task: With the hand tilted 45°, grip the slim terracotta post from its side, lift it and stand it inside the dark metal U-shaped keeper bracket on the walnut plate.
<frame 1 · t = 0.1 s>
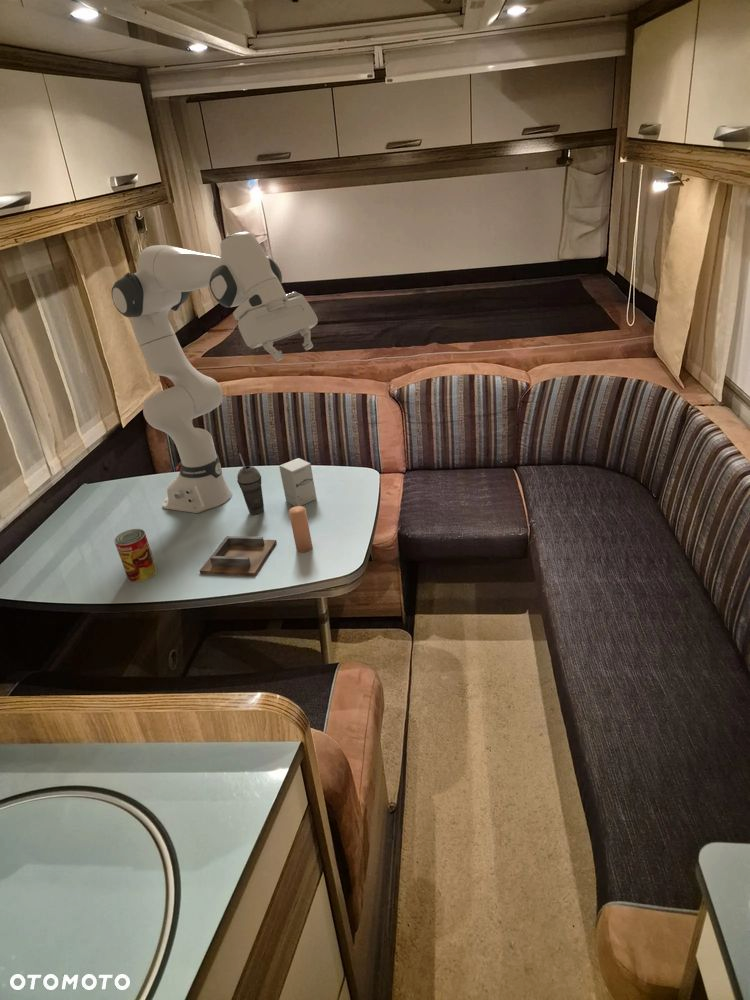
hand: (295, 354, 149), 54 cm above the table, tool tilted 30°, fingers open, 8 cm apart
terracotta post: (304, 547, 177), on the table
supplement box: (301, 500, 202), on the table
canned food: (142, 574, 175), on the table
beverage cup: (257, 512, 198), on the table
keeper bracket: (239, 557, 176), on the table
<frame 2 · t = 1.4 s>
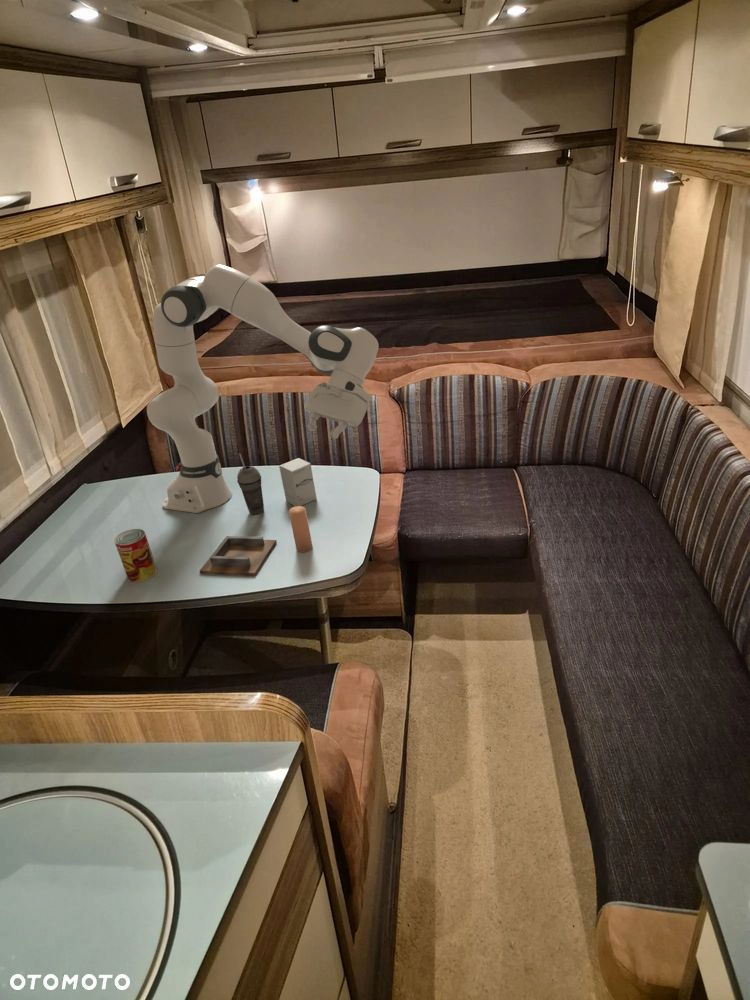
hand: (321, 433, 170), 30 cm above the table, tool tilted 45°, fingers open, 8 cm apart
nothing on the table moved.
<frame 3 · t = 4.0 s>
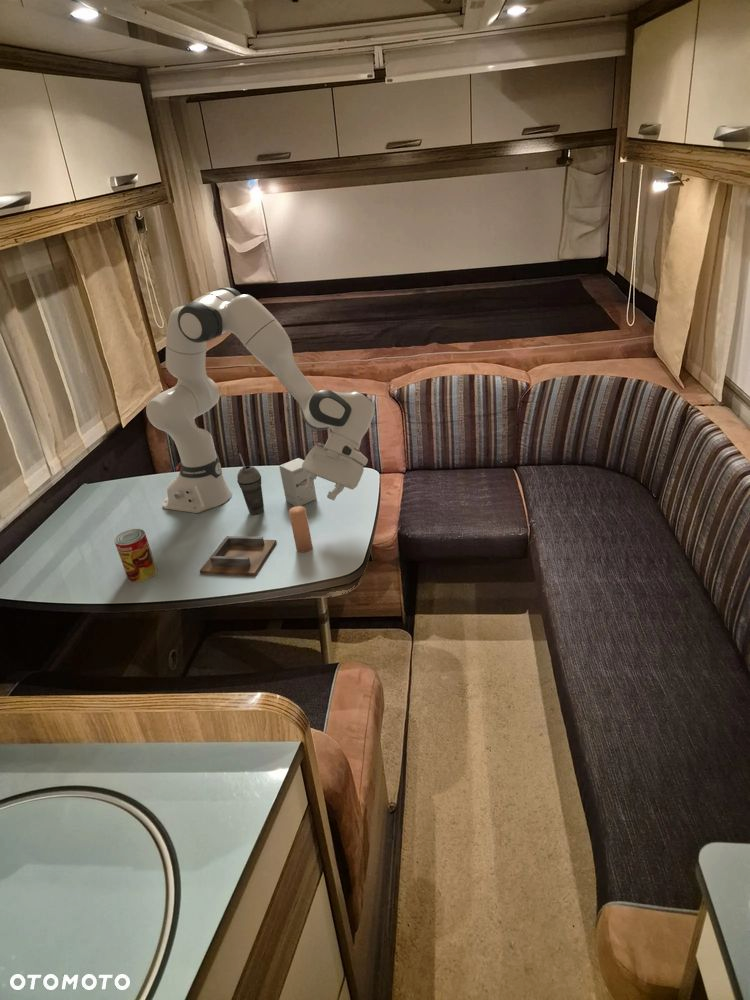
hand: (319, 494, 175), 13 cm above the table, tool tilted 45°, fingers open, 8 cm apart
nothing on the table moved.
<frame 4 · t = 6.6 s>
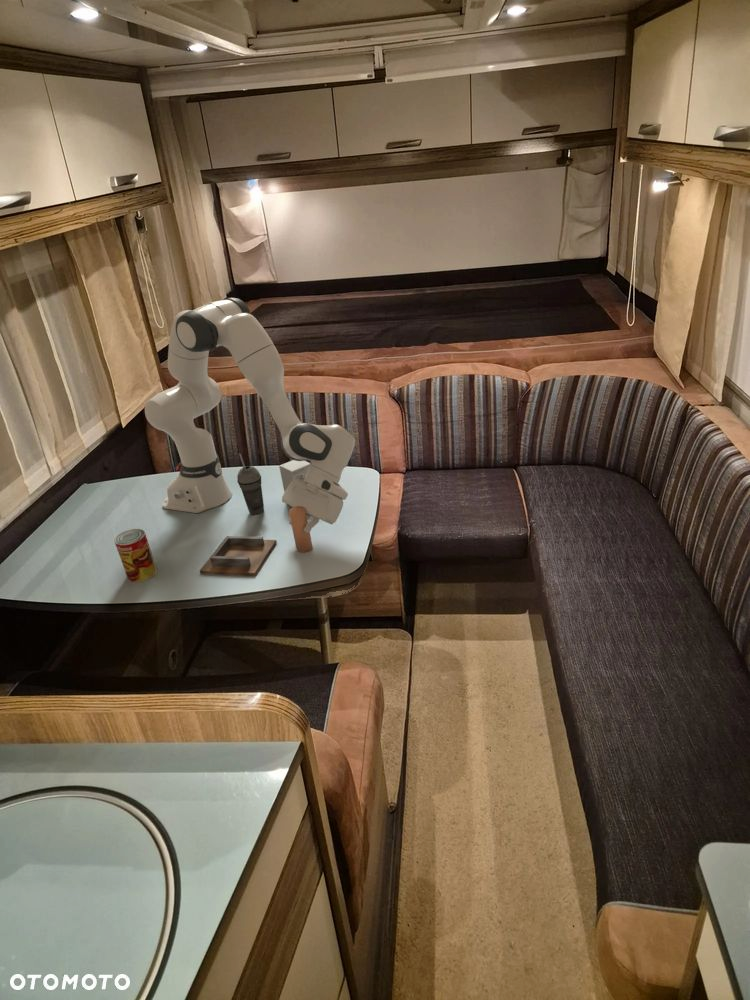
hand: (298, 528, 173), 7 cm above the table, tool tilted 45°, fingers closed on terracotta post, 4 cm apart
terracotta post: (304, 547, 177), on the table, touching gripper
everything else where it was.
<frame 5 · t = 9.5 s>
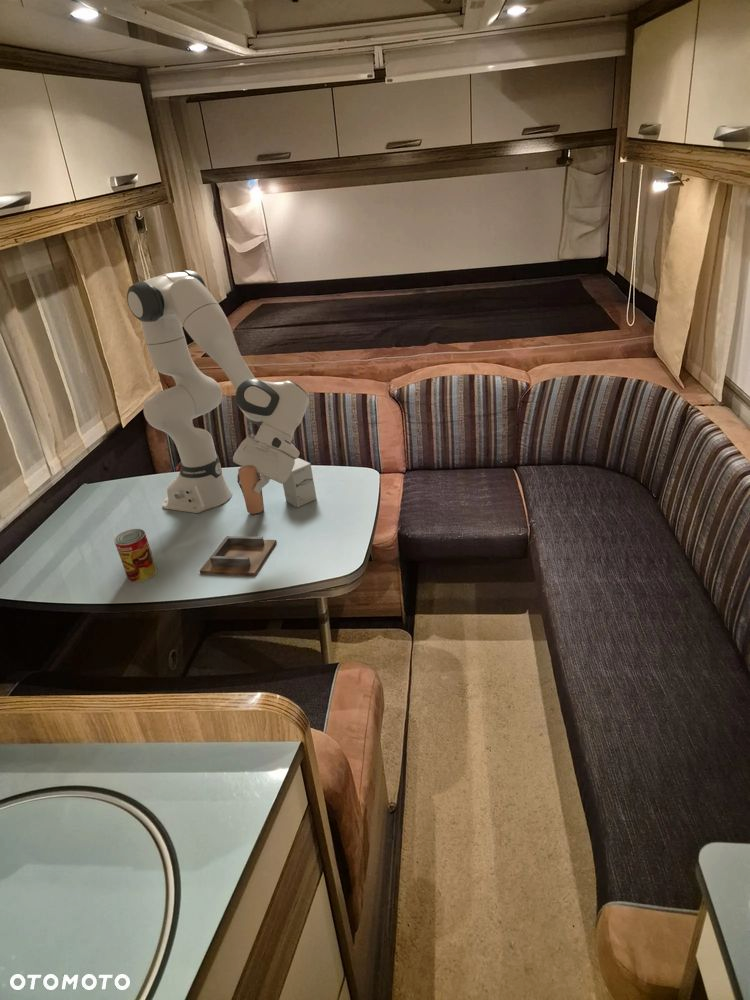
hand: (248, 488, 166), 20 cm above the table, tool tilted 45°, fingers closed on terracotta post, 4 cm apart
terracotta post: (255, 509, 170), point 14 cm above the table, touching gripper
everything else where it was.
when the fingers open (9 cm above the table, at t = 12.8 s): terracotta post drops 1 cm, resting on keeper bracket.
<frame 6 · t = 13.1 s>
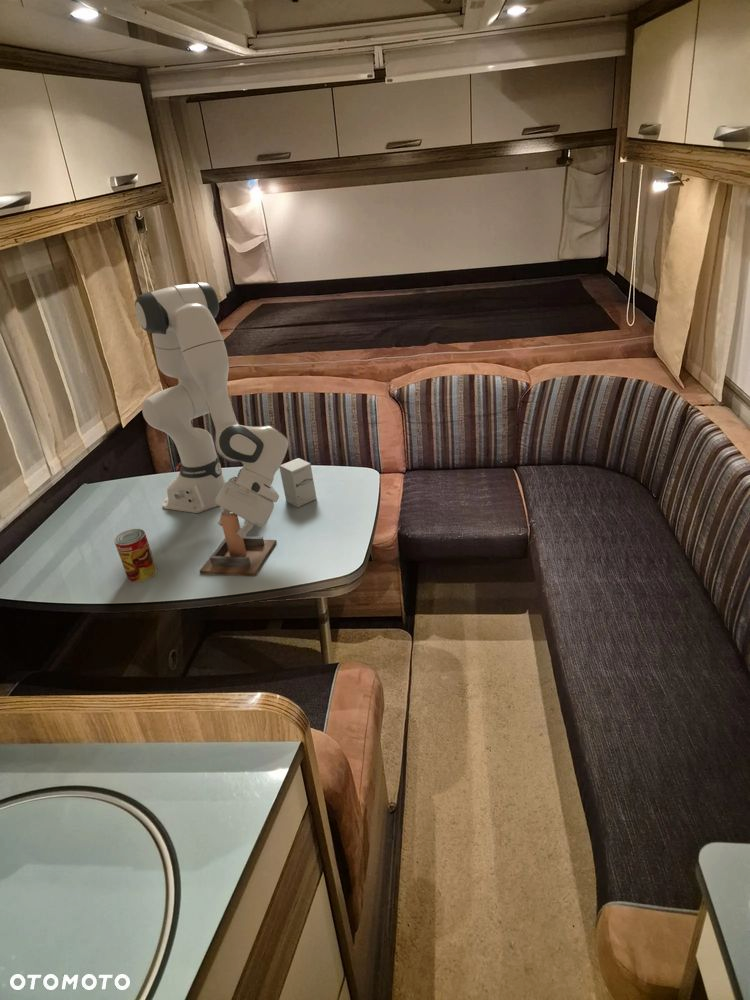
hand: (230, 530, 171), 9 cm above the table, tool tilted 45°, fingers open, 8 cm apart
terracotta post: (238, 554, 175), point 1 cm above the table, touching keeper bracket
everything else where it was.
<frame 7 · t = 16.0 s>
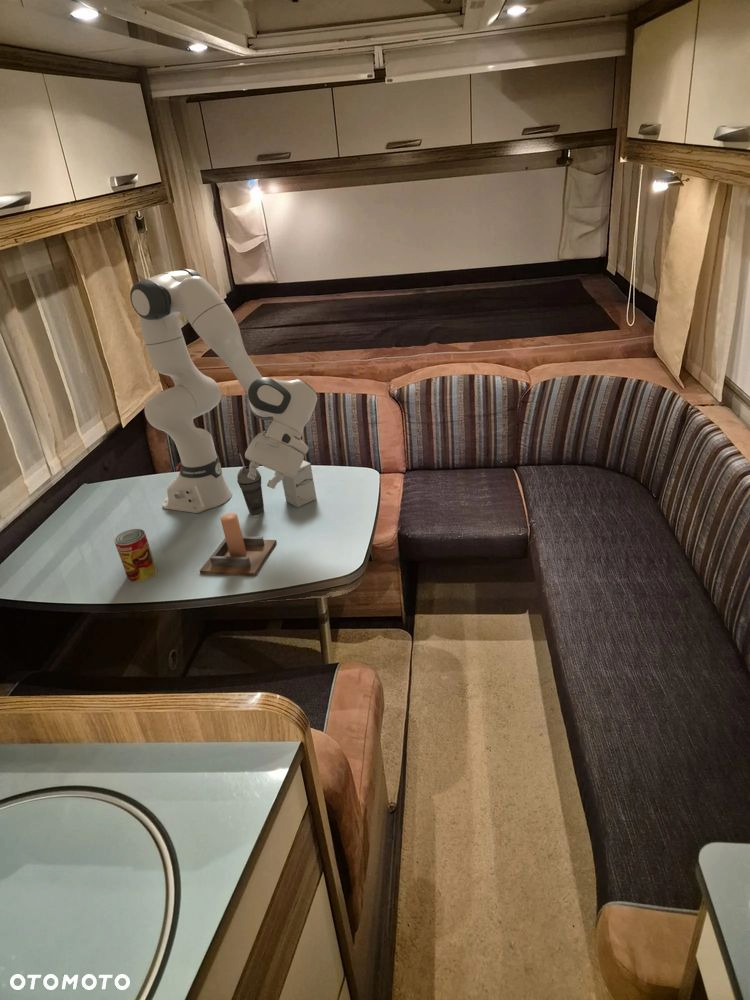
hand: (260, 482, 174), 18 cm above the table, tool tilted 45°, fingers open, 8 cm apart
nothing on the table moved.
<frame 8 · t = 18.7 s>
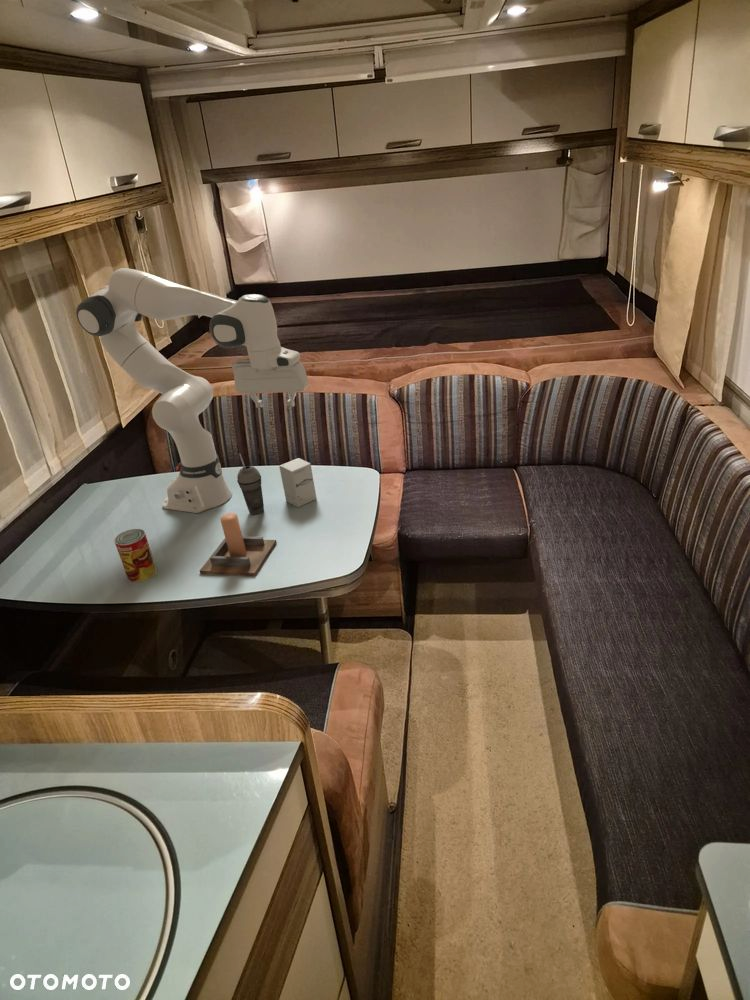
hand: (275, 406, 176), 35 cm above the table, tool pointing down, fingers open, 8 cm apart
nothing on the table moved.
at the end: terracotta post 0.1 cm off-centre on the keeper bracket, point 1.0 cm above the keeper bracket's base; terracotta post tilted 0°; the gripper is holding nothing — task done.
